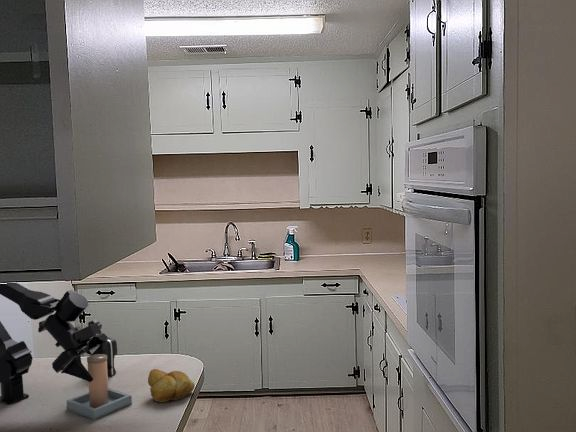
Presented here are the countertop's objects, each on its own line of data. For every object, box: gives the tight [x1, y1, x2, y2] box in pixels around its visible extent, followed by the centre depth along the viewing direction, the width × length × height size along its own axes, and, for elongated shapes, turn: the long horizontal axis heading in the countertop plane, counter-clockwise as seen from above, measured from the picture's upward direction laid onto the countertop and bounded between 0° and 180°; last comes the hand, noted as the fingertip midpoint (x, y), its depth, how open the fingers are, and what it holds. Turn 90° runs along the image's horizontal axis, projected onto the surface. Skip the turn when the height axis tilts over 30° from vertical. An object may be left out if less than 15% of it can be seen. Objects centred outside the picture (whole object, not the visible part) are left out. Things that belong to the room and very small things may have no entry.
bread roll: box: [147, 368, 195, 403], centre depth 164 cm, size 13×10×8 cm
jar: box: [86, 354, 109, 408], centre depth 158 cm, size 5×5×13 cm
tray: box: [66, 387, 133, 421], centre depth 159 cm, size 12×12×2 cm
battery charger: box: [106, 337, 118, 377], centre depth 184 cm, size 7×4×11 cm, turn 58°
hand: (101, 374), depth 158 cm, fingers open, 9 cm apart
